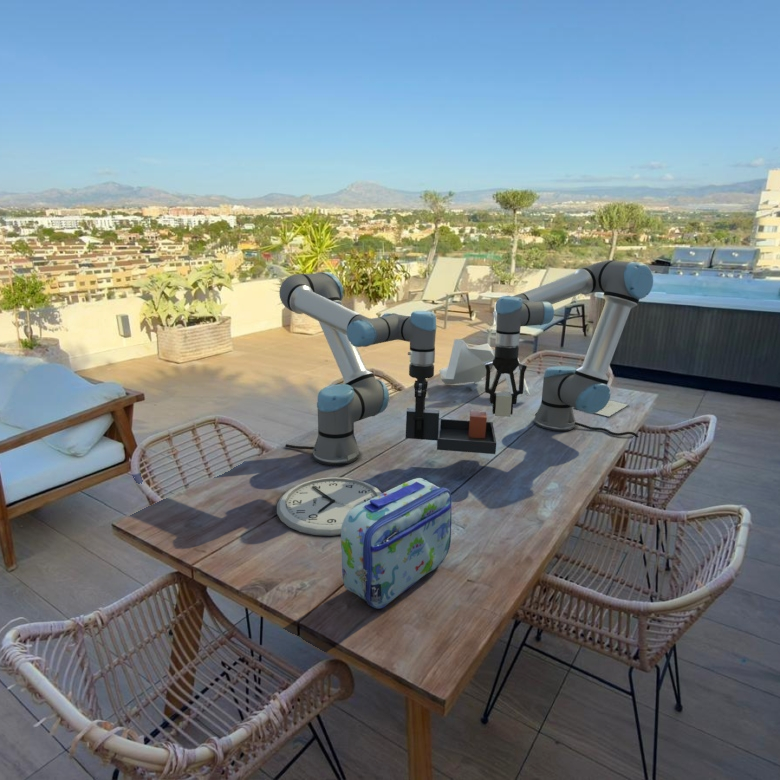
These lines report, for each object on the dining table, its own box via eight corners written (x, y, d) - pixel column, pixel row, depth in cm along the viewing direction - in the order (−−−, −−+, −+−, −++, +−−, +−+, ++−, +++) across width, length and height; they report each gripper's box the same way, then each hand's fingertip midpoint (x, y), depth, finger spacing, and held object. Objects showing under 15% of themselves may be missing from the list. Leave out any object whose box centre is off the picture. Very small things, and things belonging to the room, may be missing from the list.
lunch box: (370, 622, 101) (370, 527, 94) (335, 595, 108) (333, 505, 102) (455, 565, 118) (460, 481, 112) (420, 544, 125) (423, 465, 119)
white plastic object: (461, 429, 252) (437, 405, 227) (444, 352, 274) (420, 323, 250) (535, 404, 240) (518, 377, 215) (510, 326, 262) (492, 293, 237)
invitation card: (608, 416, 214) (573, 407, 224) (608, 416, 214) (573, 408, 224) (628, 404, 229) (594, 396, 238) (628, 405, 229) (594, 397, 238)
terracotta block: (484, 432, 168) (486, 412, 166) (484, 438, 163) (486, 417, 161) (468, 431, 168) (470, 411, 166) (468, 437, 164) (470, 416, 162)
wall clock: (392, 527, 129) (268, 531, 127) (391, 533, 130) (269, 537, 127) (383, 473, 158) (282, 475, 155) (383, 478, 158) (282, 480, 156)
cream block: (509, 411, 179) (510, 391, 176) (510, 416, 174) (511, 396, 172) (494, 410, 179) (495, 391, 177) (495, 415, 174) (496, 396, 172)
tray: (491, 432, 170) (494, 406, 167) (495, 454, 154) (498, 425, 151) (408, 426, 173) (409, 400, 170) (403, 447, 156) (404, 419, 154)
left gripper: (411, 356, 165) (409, 426, 172) (407, 369, 150) (404, 445, 157) (435, 357, 164) (432, 427, 171) (433, 371, 149) (429, 446, 156)
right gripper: (533, 343, 172) (528, 410, 179) (478, 342, 174) (474, 408, 181) (537, 348, 165) (531, 417, 172) (479, 347, 167) (475, 415, 174)
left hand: (419, 435), depth 164 cm, fingers closed on tray, 3 cm apart
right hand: (502, 412), depth 176 cm, fingers closed on cream block, 5 cm apart
